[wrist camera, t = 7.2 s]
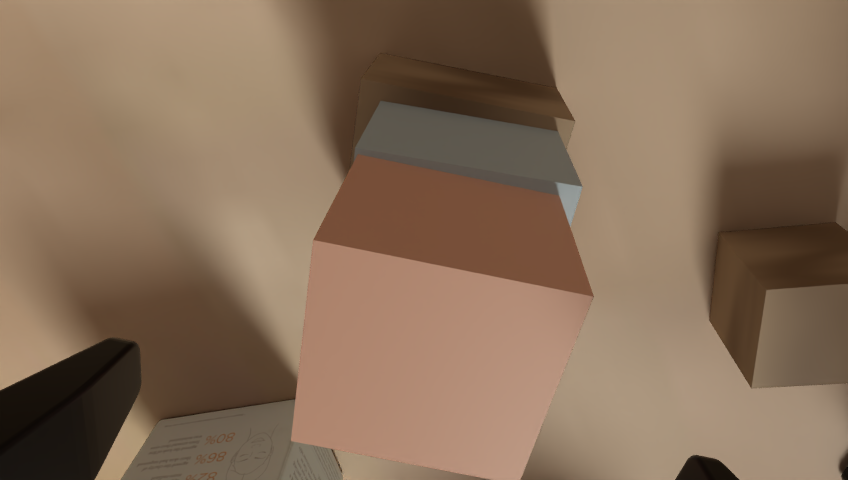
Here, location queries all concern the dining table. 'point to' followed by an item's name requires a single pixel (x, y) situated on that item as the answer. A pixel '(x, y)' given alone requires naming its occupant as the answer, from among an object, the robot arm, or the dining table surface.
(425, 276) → the terracotta cube
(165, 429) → the small box
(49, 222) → the dining table surface
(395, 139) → the slate middle block
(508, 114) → the walnut base block
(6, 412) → the robot arm
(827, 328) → the walnut block
